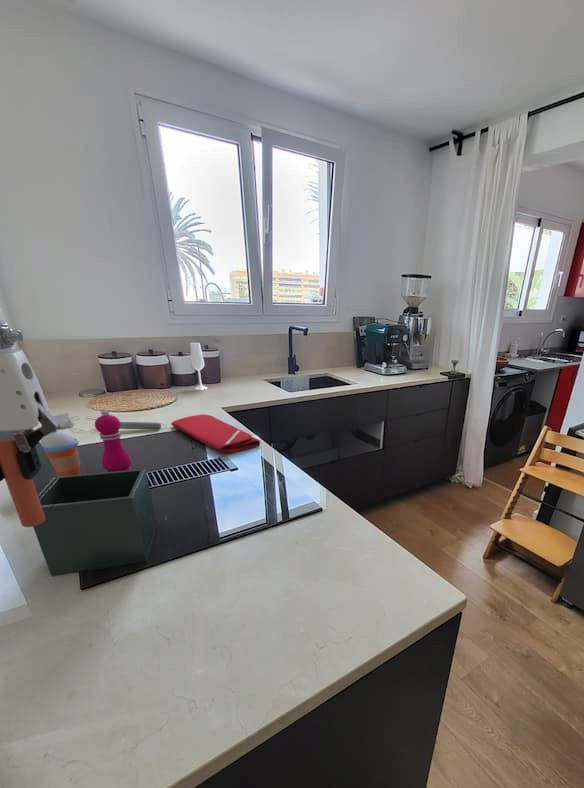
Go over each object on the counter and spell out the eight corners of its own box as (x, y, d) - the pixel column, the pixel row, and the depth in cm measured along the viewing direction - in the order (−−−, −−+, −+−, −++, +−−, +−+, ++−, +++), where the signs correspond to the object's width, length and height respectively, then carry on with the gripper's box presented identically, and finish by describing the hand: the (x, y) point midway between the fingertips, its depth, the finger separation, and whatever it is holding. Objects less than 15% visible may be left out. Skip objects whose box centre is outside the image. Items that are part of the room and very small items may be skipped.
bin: (157, 526, 91) (145, 468, 85) (147, 561, 79) (131, 497, 73) (75, 536, 87) (56, 476, 81) (51, 576, 75) (26, 509, 69)
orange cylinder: (18, 528, 56) (-14, 443, 51) (26, 518, 59) (-3, 436, 53) (41, 525, 57) (12, 442, 52) (49, 515, 59) (22, 435, 54)
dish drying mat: (209, 419, 166) (208, 410, 164) (261, 445, 140) (261, 436, 138) (171, 427, 155) (169, 418, 154) (220, 457, 129) (219, 446, 128)
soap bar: (48, 438, 150) (38, 426, 146) (46, 429, 154) (36, 418, 150) (76, 427, 153) (66, 415, 149) (74, 418, 157) (65, 407, 153)
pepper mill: (124, 469, 119) (108, 405, 111) (140, 474, 116) (125, 408, 108) (100, 478, 113) (82, 411, 105) (116, 483, 110) (99, 415, 102)
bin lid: (11, 391, 73) (6, 392, 72) (-31, 411, 61) (-37, 413, 61) (57, 474, 80) (53, 475, 80) (28, 506, 69) (23, 507, 68)
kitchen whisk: (165, 431, 150) (162, 415, 148) (66, 436, 144) (61, 419, 141) (168, 426, 156) (166, 411, 153) (73, 430, 149) (69, 414, 147)
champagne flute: (201, 390, 212) (195, 344, 202) (192, 389, 214) (185, 343, 204) (210, 387, 217) (204, 343, 208) (200, 386, 219) (194, 342, 210)
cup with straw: (43, 478, 112) (23, 417, 105) (78, 467, 119) (62, 410, 112) (56, 487, 107) (36, 424, 100) (93, 475, 114) (76, 416, 107)
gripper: (60, 336, 53) (92, 461, 60) (-95, 335, 48) (-39, 470, 56) (36, 344, 46) (76, 482, 54) (-145, 343, 42) (-74, 495, 49)
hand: (17, 475), depth 55 cm, fingers closed on orange cylinder, 2 cm apart
